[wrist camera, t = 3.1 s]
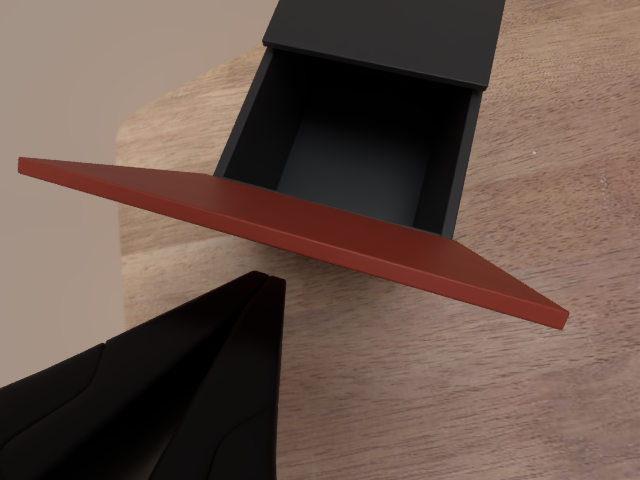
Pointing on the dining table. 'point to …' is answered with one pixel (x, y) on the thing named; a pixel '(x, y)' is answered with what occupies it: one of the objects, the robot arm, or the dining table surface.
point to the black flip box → (368, 106)
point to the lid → (309, 232)
